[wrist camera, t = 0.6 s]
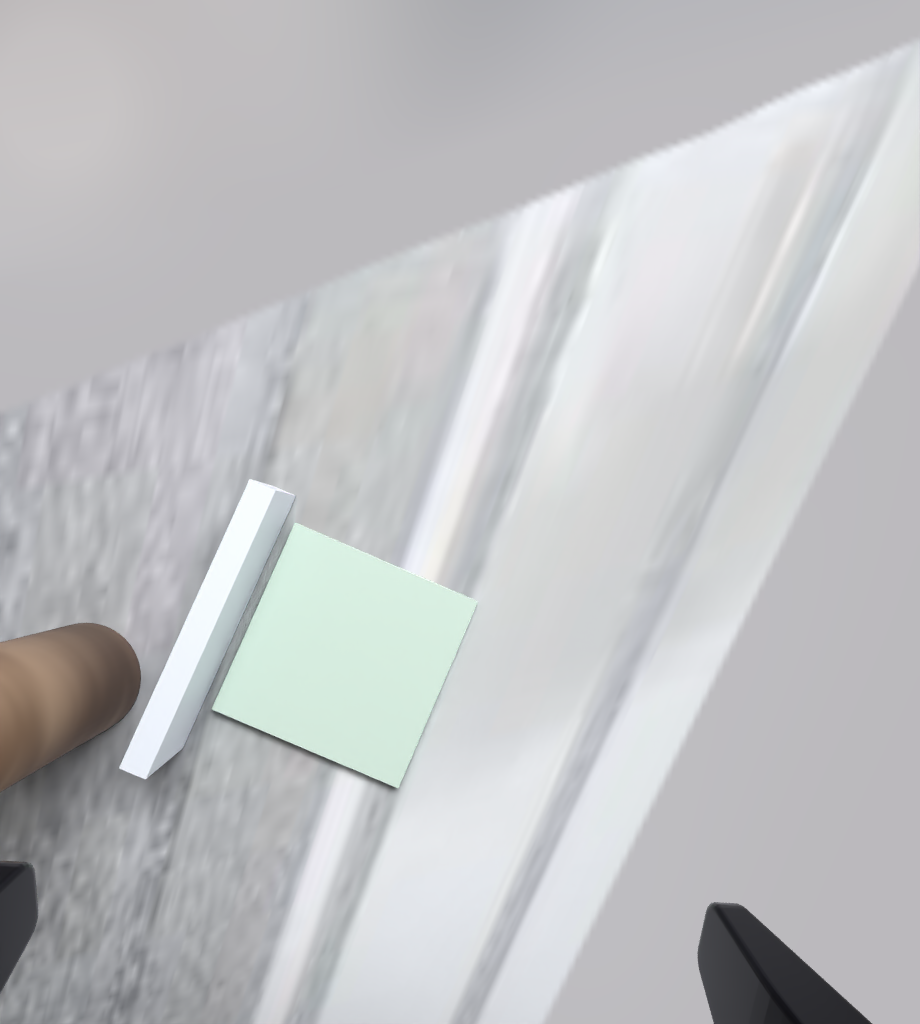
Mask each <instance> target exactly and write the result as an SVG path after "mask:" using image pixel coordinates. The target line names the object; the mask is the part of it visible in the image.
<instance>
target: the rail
mask: <svg viewBox="0 0 920 1024" xmlns="http://www.w3.org/2000/svg"><path fill="white" fill-rule="evenodd" d="M295 497H296V496H295V495H293V494H291V493H288V492H286V491H284V490H281V489H279V488H277V487H275V486H272V485H268V484H265V483H261V482H258V481H254V480H251V479H250V480H249V482H248V484H247V486H246V489H245V491H244V493H243V495H242V498H241V500H240V502H239V504H238V506H237V509H236V511H235V513H234V515H233V517H232V520H231V522H230V524H229V526H228V528H227V531H226V533H225V535H224V537H223V539H222V542H221V544H220V546H219V548H218V551H217V553H216V555H215V557H214V559H213V562H212V564H211V566H210V568H209V570H208V573H207V575H206V577H205V579H204V581H203V584H202V586H201V588H200V590H199V592H198V595H197V597H196V599H195V601H194V604H193V606H192V608H191V610H190V612H189V615H188V617H187V619H186V621H185V623H184V626H183V628H182V630H181V632H180V634H179V637H178V639H177V641H176V643H175V645H174V648H173V650H172V652H171V654H170V657H169V659H168V661H167V663H166V665H165V668H164V670H163V672H162V674H161V676H160V679H159V681H158V683H157V685H156V687H155V690H154V692H153V694H152V696H151V698H150V701H149V703H148V705H147V707H146V710H145V712H144V714H143V716H142V718H141V721H140V723H139V725H138V727H137V729H136V732H135V734H134V736H133V738H132V740H131V743H130V745H129V747H128V749H127V751H126V754H125V756H124V758H123V760H122V763H121V765H120V767H119V769H122V770H124V771H126V772H129V773H131V774H133V775H136V776H138V777H141V778H143V779H145V780H146V779H147V778H148V777H149V776H150V775H152V774H153V773H154V772H155V771H156V770H158V769H159V768H160V767H161V766H162V765H163V764H165V763H166V762H167V761H168V760H169V759H171V758H172V757H173V756H174V755H175V754H177V753H178V752H179V751H180V750H181V749H183V747H184V745H185V742H186V740H187V738H188V736H189V733H190V731H191V729H192V727H193V725H194V722H195V720H196V718H197V716H198V713H199V711H200V709H201V707H202V704H203V702H204V700H205V698H206V696H207V693H208V691H209V689H210V687H211V684H212V682H213V680H214V678H215V675H216V673H217V671H218V669H219V667H220V664H221V662H222V660H223V658H224V655H225V653H226V651H227V649H228V646H229V644H230V642H231V640H232V638H233V635H234V633H235V631H236V629H237V626H238V624H239V622H240V620H241V617H242V615H243V613H244V611H245V609H246V606H247V604H248V602H249V600H250V597H251V595H252V593H253V591H254V588H255V586H256V584H257V582H258V580H259V577H260V575H261V573H262V571H263V568H264V566H265V564H266V562H267V559H268V557H269V555H270V553H271V551H272V548H273V546H274V544H275V542H276V539H277V537H278V535H279V533H280V530H281V528H282V526H283V524H284V521H285V519H286V517H287V515H288V513H289V510H290V508H291V506H292V504H293V501H294V499H295Z"/></svg>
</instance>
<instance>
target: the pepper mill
mask: <svg viewBox="0 0 920 1024" xmlns="http://www.w3.org/2000/svg"><path fill="white" fill-rule="evenodd" d="M140 681H141V673H140V666H139V662H138V659H137V656H136V654H135V652H134V650H133V648H132V647H131V645H130V644H129V643H128V642H127V641H126V639H125V638H123V637H122V636H121V635H120V634H119V633H117V632H116V631H114V630H112V629H110V628H108V627H105V626H103V625H99V624H94V623H78V624H73V625H69V626H65V627H61V628H57V629H53V630H49V631H45V632H41V633H36V634H32V635H28V636H24V637H20V638H16V639H12V640H8V641H4V642H0V792H1V791H3V790H5V789H7V788H8V787H10V786H12V785H13V784H15V783H17V782H18V781H20V780H22V779H24V778H25V777H27V776H29V775H30V774H32V773H34V772H35V771H37V770H39V769H40V768H42V767H44V766H46V765H47V764H49V763H51V762H52V761H54V760H56V759H57V758H59V757H61V756H63V755H64V754H66V753H68V752H69V751H71V750H73V749H74V748H76V747H78V746H79V745H81V744H83V743H85V742H86V741H88V740H90V739H91V738H93V737H95V736H96V735H98V734H100V733H102V732H103V731H105V730H107V729H108V728H110V727H112V726H113V725H115V724H116V723H118V722H119V721H120V720H121V719H122V718H123V717H124V716H125V715H126V714H127V713H128V712H129V710H130V709H131V708H132V706H133V704H134V702H135V700H136V698H137V695H138V692H139V688H140Z"/></svg>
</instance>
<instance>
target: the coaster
mask: <svg viewBox="0 0 920 1024" xmlns="http://www.w3.org/2000/svg"><path fill="white" fill-rule="evenodd" d="M477 603H478V601H477V600H474V599H472V598H470V597H467V596H465V595H463V594H460V593H458V592H456V591H453V590H451V589H449V588H446V587H444V586H442V585H439V584H437V583H435V582H433V581H430V580H428V579H426V578H423V577H421V576H419V575H416V574H414V573H412V572H409V571H407V570H405V569H402V568H400V567H398V566H395V565H393V564H391V563H388V562H386V561H384V560H382V559H379V558H377V557H375V556H372V555H370V554H368V553H365V552H363V551H361V550H358V549H356V548H354V547H351V546H349V545H347V544H344V543H342V542H340V541H337V540H335V539H333V538H331V537H328V536H326V535H324V534H321V533H319V532H317V531H314V530H312V529H310V528H307V527H305V526H303V525H300V524H298V523H295V524H294V526H293V528H292V531H291V533H290V535H289V537H288V539H287V542H286V544H285V546H284V548H283V551H282V553H281V555H280V557H279V560H278V562H277V564H276V566H275V569H274V571H273V573H272V575H271V578H270V580H269V582H268V584H267V586H266V589H265V591H264V593H263V595H262V598H261V600H260V602H259V604H258V607H257V609H256V611H255V613H254V616H253V618H252V620H251V622H250V624H249V627H248V629H247V631H246V633H245V636H244V638H243V640H242V642H241V645H240V647H239V649H238V651H237V654H236V656H235V658H234V660H233V662H232V665H231V667H230V669H229V671H228V674H227V676H226V678H225V680H224V683H223V685H222V687H221V689H220V692H219V694H218V696H217V698H216V701H215V703H214V705H213V707H212V710H214V711H217V712H219V713H221V714H224V715H226V716H228V717H231V718H233V719H235V720H238V721H240V722H243V723H245V724H247V725H250V726H252V727H254V728H257V729H259V730H261V731H264V732H266V733H268V734H271V735H273V736H276V737H278V738H280V739H283V740H285V741H287V742H290V743H292V744H294V745H297V746H299V747H302V748H304V749H306V750H309V751H311V752H313V753H316V754H318V755H320V756H323V757H325V758H327V759H330V760H332V761H335V762H337V763H339V764H342V765H344V766H346V767H349V768H351V769H353V770H356V771H358V772H360V773H363V774H365V775H368V776H370V777H372V778H375V779H377V780H379V781H382V782H384V783H386V784H389V785H391V786H394V787H396V788H399V786H400V783H401V781H402V779H403V776H404V774H405V772H406V769H407V767H408V765H409V762H410V760H411V757H412V755H413V753H414V750H415V748H416V746H417V743H418V741H419V739H420V736H421V734H422V732H423V729H424V727H425V725H426V722H427V720H428V718H429V715H430V713H431V711H432V708H433V706H434V704H435V701H436V699H437V697H438V694H439V692H440V690H441V687H442V685H443V683H444V680H445V678H446V676H447V673H448V671H449V669H450V666H451V664H452V662H453V659H454V657H455V655H456V652H457V650H458V648H459V645H460V643H461V641H462V638H463V636H464V634H465V631H466V629H467V627H468V624H469V622H470V620H471V617H472V615H473V613H474V610H475V608H476V606H477Z"/></svg>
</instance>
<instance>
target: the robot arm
mask: <svg viewBox="0 0 920 1024" xmlns="http://www.w3.org/2000/svg"><path fill="white" fill-rule="evenodd" d="M37 919H38V903H37V891H36V880H35V871H34V868H33V866H32V865H31V864H30V863H27V862H12V861H0V993H1V991H2V990H3V988H4V986H5V984H6V982H7V980H8V979H9V977H10V975H11V973H12V971H13V969H14V968H15V966H16V964H17V962H18V960H19V958H20V957H21V955H22V953H23V951H24V949H25V947H26V946H27V944H28V942H29V940H30V938H31V936H32V934H33V932H34V929H35V927H36V923H37ZM698 965H699V970H700V974H701V978H702V982H703V986H704V989H705V992H706V996H707V1000H708V1004H709V1007H710V1011H711V1015H712V1018H713V1022H714V1024H872V1023H871V1022H870V1021H869V1020H867V1018H865V1017H864V1016H863V1015H862V1014H861V1013H860V1012H859V1011H858V1010H857V1009H856V1008H854V1007H853V1006H852V1005H851V1004H850V1003H849V1002H848V1001H847V1000H846V999H844V998H843V997H842V996H841V995H840V994H839V993H838V992H837V991H836V990H835V989H834V988H833V987H831V986H830V985H829V984H828V983H827V982H826V981H825V980H824V979H823V978H821V977H820V976H819V975H818V974H817V973H816V972H815V971H814V970H813V969H812V968H811V967H810V966H808V965H807V964H806V963H805V962H804V961H803V960H802V959H800V957H798V956H797V955H796V954H795V953H794V952H793V951H792V950H791V949H790V948H789V947H787V946H786V945H785V944H784V943H783V942H782V941H781V940H780V939H779V938H778V937H777V936H775V935H774V934H773V933H772V932H771V931H770V930H769V929H768V928H767V927H766V926H764V925H763V924H762V923H761V922H760V921H759V920H758V919H757V918H756V917H755V916H754V915H753V914H751V913H750V912H749V911H748V910H747V909H746V908H744V907H743V906H741V905H739V904H734V903H718V902H714V903H711V904H710V905H709V906H708V908H707V911H706V914H705V920H704V924H703V928H702V933H701V937H700V942H699V946H698Z"/></svg>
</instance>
